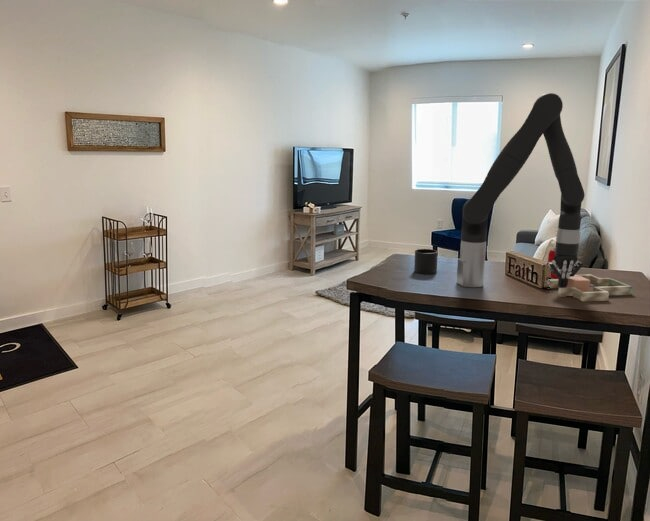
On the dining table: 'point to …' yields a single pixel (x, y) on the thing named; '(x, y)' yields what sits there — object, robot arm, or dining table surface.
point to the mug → (425, 261)
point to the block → (579, 283)
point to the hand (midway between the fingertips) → (562, 287)
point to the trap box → (594, 289)
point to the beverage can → (550, 259)
